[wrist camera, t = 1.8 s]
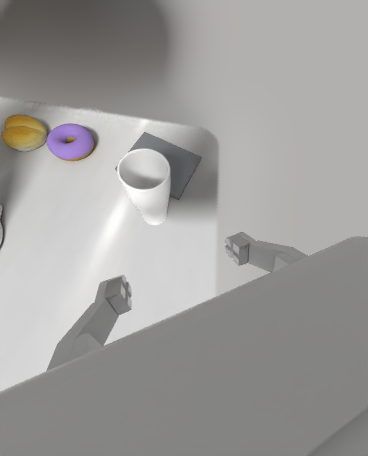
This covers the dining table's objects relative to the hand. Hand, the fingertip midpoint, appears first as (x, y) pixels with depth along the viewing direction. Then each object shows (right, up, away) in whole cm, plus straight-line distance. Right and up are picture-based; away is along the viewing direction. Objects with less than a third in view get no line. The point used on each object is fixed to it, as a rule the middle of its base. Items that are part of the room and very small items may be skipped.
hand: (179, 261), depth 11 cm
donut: (-27, +23, +25) cm, 43 cm away
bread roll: (-38, +25, +24) cm, 51 cm away
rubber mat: (-6, +19, +25) cm, 32 cm away
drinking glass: (-6, +6, +21) cm, 23 cm away
